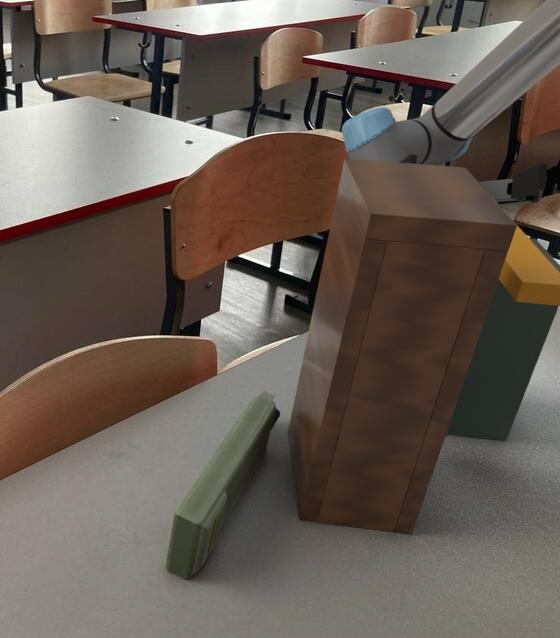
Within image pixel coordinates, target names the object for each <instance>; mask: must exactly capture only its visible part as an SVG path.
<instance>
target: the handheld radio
mask: <svg viewBox="0 0 560 638" xmlns="http://www.w3.org/2000/svg"><path fill="white" fill-rule="evenodd" d="M275 396H276V395H275V394H272V393H270V392H268V391H265V390H263V391H262V392H261V393H260V394H259V395H257V396H255V397H253V398H252V400H251V401H250V402H249V403H248V405H247V406H246V408H245V409H244V410H243V412H242V413H241V415H240V416H239V418H238V419H237V420H235V422H234V424H233V426H232V427H231V428H230V430H229V431H228V432H227V434H226V435H225V436H224V438H223V440H222V441H221V442H220V444H219V446H218V447H217V449H216V450H215V452H214V453H213V455H212V457H211V458H210V459H209V461H208V462H207V463H206V465H205V467H204V468H203V470H202V471H201V473H200V474H199V475H198V477H197V479H196V480H195V482H194V483H193V485H192V486H191V487H190V489H189V490H188V492H187V493H186V495H185V496H184V497H183V499H182V501H181V503H180V504H179V505H178V507H177V508H176V510H175V511H174V513H173V514H174V515H173V519H172V520H173V521H172V526H171V532H170V538H169V544H168V549H167V553H166V555H167V556H166V561H165V568H166V570H167V572H168V573H169V574H172V575H174V576H177V577H179V578H181V579H183V580H188V579H190V578H191V577H193V576H194V574H196V573H198V572H199V571H200V570H201V569H202V567H203V566H204V564H205V563H206V561H207V559H208V557H209V556H210V555H211V552H212V551H213V549H214V547H215V545H216V543H217V542H218V540H219V538H220V533H221V529H222V527H223V525H224V524H225V522H226V520H227V518H228V517H229V515H230V513H231V512H232V510H233V509H234V507H235V505H236V503H237V502H238V500H239V499H240V497H241V495H242V493H243V491H244V490H245V488H246V487H247V485H248V483H249V481H250V480H251V478H252V476H253V475H254V473H255V471H256V470H257V468H258V466H259V464H260V463H261V461H262V459H263V458H264V456H265V454H266V451H267V448H268V444H269V439H270V435H271V432H272V430H273V428H274V427H275V425H276V423H277V421H278V420H279V418H280V417H281V411H280V410H279V409H278V408H277V406H276V403H275V402H274V401H275V400H274V399H275Z"/></svg>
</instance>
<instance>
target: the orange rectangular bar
mask: <svg viewBox="0 0 560 638" xmlns="http://www.w3.org/2000/svg"><path fill="white" fill-rule="evenodd" d="M496 203H497V202H496ZM497 204H498V203H497ZM498 205H499V204H498ZM504 212H505V213H506V214H507V215H508V216H509V214H508V212H506V211H505V210H504ZM513 222H514V223H515V224H516V225H517V223H516V222H515V221H514V220H513ZM529 238H530V237H528V235H527V234H526V233H525V232H524V231H523V230H522V229H521V228H520V227H519V226H518V225H517V227H516V230H515V233H514V236H513V239H512V242H511V245H510V248H509V251H508V253H507V256H506V259H505V262H504V265H503V268H502V271H501V274H500V277H499V280H500V281H501V283H502V284H503V285H504V287H505V288H506V290H507V291H508V292H509V294H510V295H511V296H512V298H513V299H514V301H515V302H525V303H536V304H546V305H557V306H559V307H560V273H559V271H558V270H557V269H556V268H555V267H554V266H553V265H552V264H551V263H550V261H549V260H548V259H547V258H546V257H545V256H544V255H543V254H542V252H541V251H540V250H539V249H538V248H537V247H536V246H535V245H534V244H533V242H532V241H531V240H530V239H529Z"/></svg>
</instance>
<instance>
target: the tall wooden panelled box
mask: <svg viewBox="0 0 560 638" xmlns="http://www.w3.org/2000/svg"><path fill="white" fill-rule="evenodd" d="M479 182H480V181H478V180H477V179H476V178H475V176H473V175H472V173H471V172H470V170H468V169H467V168H466V167H462V166H449V165H438V164H432V165H424V164H410V163H396V162H383V161H369V160H356V159H349V158H344V159H343V164H342V169H341V174H340V178H339V184H338V188H337V194H336V197H335V203H334V209H333V213H332V218H331V222H330V228H329V233H328V237H327V241H326V246H325V251H324V255H323V260H322V265H321V271H320V276H319V280H318V285H317V289H316V295H315V299H314V305H313V309H312V313H311V317H310V318H311V319H310V324H309V328H308V333H307V338H306V342H305V348H304V352H303V358H302V362H301V367H300V372H299V376H298V381H297V386H296V391H295V396H294V401H293V406H292V411H291V414H290V420H289V424H288V429H287V436H288V437H287V438H288V445H289V452H290V462H291V467H292V469H291V470H292V475H293V484H294V490H295V492H294V493H295V499H296V506H297V513H298V520H299V521H307V522H313V523H321V524H329V525H337V526H338V525H339V526H344V527H352V528H359V529H366V530H367V529H368V530H374V531H382V532H391V533H398V534H406V535H407V534H408V535H413V533H414V530H415V527H416V524H417V522H418V519H419V515H420V513H421V510H422V506H423V504H424V501H425V498H426V495H427V491H428V490H429V486H430V484H431V481H432V477H433V475H434V471H435V469H436V465H437V462H438V460H439V457H440V454H441V451H442V449H443V444H444V442H445V439H446V436H447V434H446V433H447V430H448V427H449V424H450V421H451V418H452V415H453V412H454V410H455V407H456V404H457V401H458V398H459V395H460V392H461V389H462V386H463V383H464V380H465V377H466V374H467V371H468V368H469V365H470V362H471V359H472V356H473V353H474V351H475V348H476V345H477V342H478V339H479V336H480V333H481V330H482V327H483V324H484V321H485V318H486V315H487V312H488V309H489V306H490V303H491V300H492V297H493V295H494V292H495V289H496V286H497V283H498V280H499V277H500V274H501V271H502V268H503V265H504V262H505V259H506V256H507V253H508V251H509V248H510V245H511V242H512V239H513V236H514V233H515V230H516V227H517V226H518V224H517V223H516V222H515V221H514V219H512V218H511V216H509V214H508V213H507V212H506V211H505V210H504V209H503V207H500V206H499V205H498V204H497V203H496V201H495V200H494V199H493V198H492V197H491V196H490V195H489V194H488V193H487V191H486V190H485V189H484V188H483V187H482V186H481V185H480V184H479ZM504 211H505V212H506V213H507V214H508V215H507V214H506V213H505V212H504ZM513 221H514V222H515V223H516V224H515V223H514V222H513Z"/></svg>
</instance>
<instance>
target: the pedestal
mask: <svg viewBox="0 0 560 638" xmlns="http://www.w3.org/2000/svg"><path fill="white" fill-rule="evenodd" d="M528 238H529V239H530V240H531V241H532V242H533V244H534V245H535V246H536V247H537V248H538V249H539V250H540V251H541V252H542V254H543V255H544V256H545V257H546V258H547V259H548V260H549V261H550V263H551V264H552V265H553V266H554V267H555V268H556V269H557V270H558V271H559V273H560V264H559V262H557V260H556V259H555V258H554V257H553V256H552V255H551V254H550V252H548V250H546V248H545V247H544V246H543V245H542V244H541V243H540V242H539V241H538V240H537V239H536V238H532V237H531V238H530V237H528ZM559 308H560V306H557V305H546V304H536V303H525V302H515V301H514V299H513V298H512V296H511V295H510V294H509V292H508V291H507V290H506V288H505V287H504V285H503V284H502V283H501V281H500V280H498V283H497V286H496V289H495V292H494V295H493V297H492V300H491V303H490V306H489V309H488V312H487V315H486V318H485V321H484V324H483V327H482V330H481V333H480V336H479V339H478V342H477V345H476V348H475V351H474V353H473V356H472V359H471V362H470V365H469V368H468V371H467V374H466V377H465V380H464V383H463V386H462V389H461V392H460V395H459V398H458V401H457V404H456V407H455V410H454V412H453V415H452V418H451V421H450V424H449V427H448V430H447V433H446V435H450V436H451V435H452V436H460V437H468V438H477V439H485V440H486V439H487V440H496V441H504V442H506V441H507V440H508V438H509V435H510V433H511V430H512V428H513V425H514V422H515V419H516V417H517V415H518V412H519V409H520V407H521V404H522V401H523V399H524V396H525V394H526V391H527V389H528V387H529V383H530V381H531V379H532V376H533V374H534V372H535V369H536V366H537V363H538V361H539V358H540V355H541V353H542V351H543V348H544V345H545V344H546V340H547V339H548V338H547V337H548V335H549V333H550V330H551V328H552V325H553V323H554V320H555V318H556V315H557V313H558V310H559Z"/></svg>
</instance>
